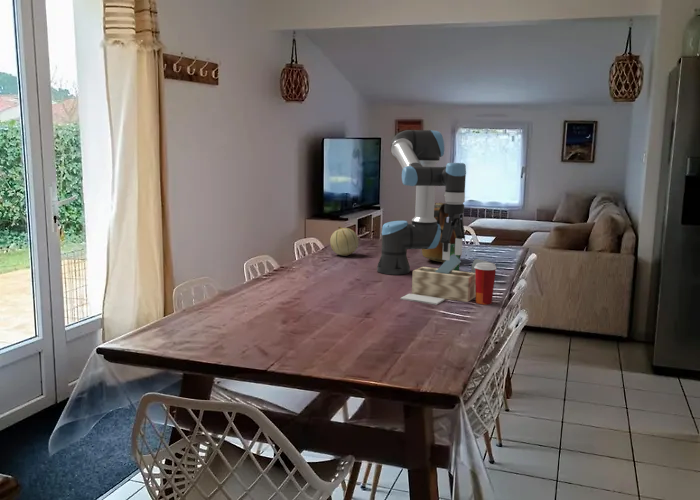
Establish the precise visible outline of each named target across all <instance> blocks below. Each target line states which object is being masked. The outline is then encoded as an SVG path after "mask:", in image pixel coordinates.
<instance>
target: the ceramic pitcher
mask: <svg viewBox="0 0 700 500" xmlns="http://www.w3.org/2000/svg"><path fill="white" fill-rule="evenodd" d="M445 204H446V202H445V203H443V202H441V201H440V202H434V218H435V219H436V220H437V224H439V225H440V227H441V236H442V232H443V227H444V221H445V217H448V213H445V212H444V209H445ZM441 236H440V241H441ZM455 239H456V234H455V230H453V232H452V236H451V239H450V242H449V243H450V244H455ZM440 241H439V243H438V245H437V247H436V248H434V249H421V254H422V255H421V256H423V258H425V259H428V260H430V261H435V262H440V263H444V262H445V260H442V255H443V243H441V242H440ZM461 257H462V255H460V258H461Z"/></svg>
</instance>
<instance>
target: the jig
mask: <svg viewBox="0 0 700 500" xmlns="http://www.w3.org/2000/svg"><path fill="white" fill-rule="evenodd" d="M438 268H439V267H438ZM438 268H437V267H429V266H421V267H418V268H416V269H414V270H412V278H411V280H412V281H411V294H416V295H423V296H429V297H436V298H443V299H445V300H451V301H456V300H457V301H456V302H464V303H468V302H470V301H471V300H473V299H476V285H475V273H472V272H469V271H462V270H459V271H454V270H453V271H452V272H451V273H450V274H445V273H437V272H436V271H437V270H438Z"/></svg>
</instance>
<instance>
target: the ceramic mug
mask: <svg viewBox="0 0 700 500" xmlns="http://www.w3.org/2000/svg"><path fill="white" fill-rule="evenodd" d="M477 263H492V262H490V261H486V260H483V259H479V258H476V259H474V260H473V261H472V264H471V268H470V269H471V273H475V268H474V267H475V265H476V264H477Z"/></svg>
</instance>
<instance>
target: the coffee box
mask: <svg viewBox="0 0 700 500" xmlns="http://www.w3.org/2000/svg"><path fill="white" fill-rule="evenodd" d="M453 254H455V244H450V256H451V255H453ZM456 257H457V258H458V259H459V260H460V261H461V257H460V255H456ZM445 261H446V260H445ZM460 263H461V262H460ZM460 263H459V264H458V265H457V266H456V267H455V268H454V271H460Z"/></svg>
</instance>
